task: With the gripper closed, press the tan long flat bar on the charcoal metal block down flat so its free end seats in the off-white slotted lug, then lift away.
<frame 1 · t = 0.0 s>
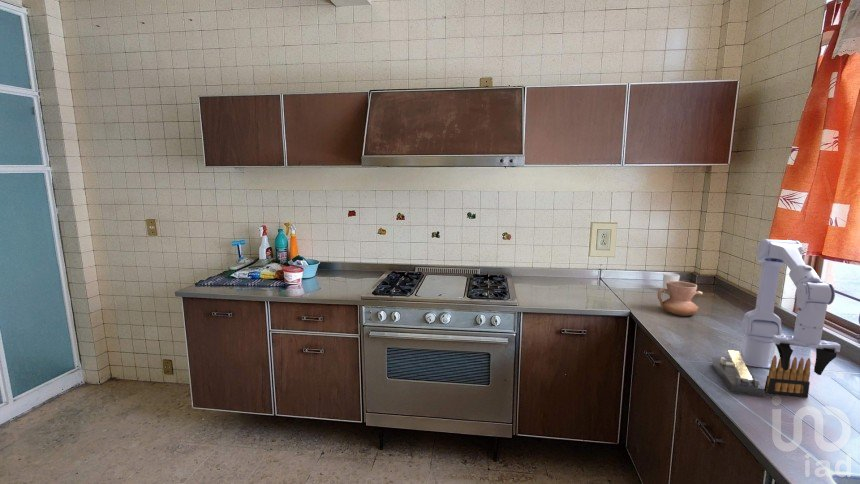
hand: (800, 371, 119), 10 cm above the counter, tool pointing down, fingers open, 7 cm apart
ammunition clip: (785, 395, 126), on the counter
white cup: (669, 292, 232), on the counter
ceramic jug: (677, 313, 198), on the counter
tan long flat bar: (739, 366, 132), point 5 cm above the counter, hinge at 15.0°
block: (735, 379, 135), on the counter
lug: (729, 372, 140), resting on block
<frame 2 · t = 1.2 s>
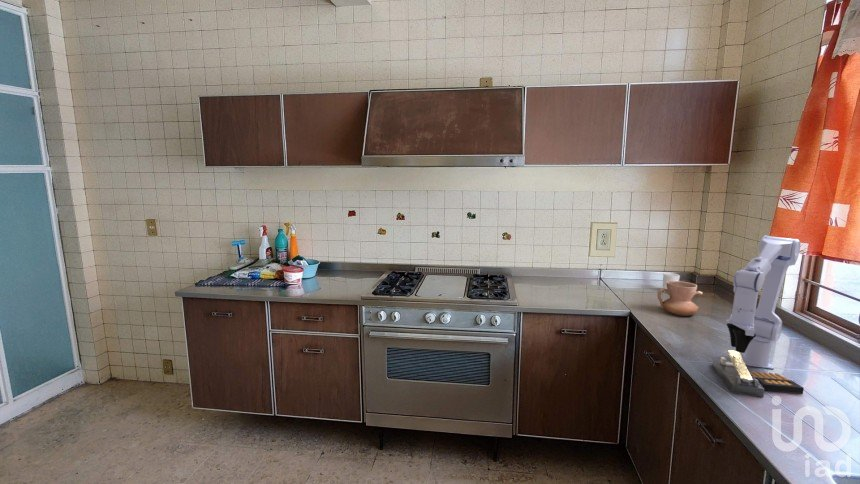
hand: (737, 349, 135), 9 cm above the counter, tool pointing down, fingers open, 4 cm apart
ammunition clip: (783, 389, 127), point 1 cm above the counter
everything else where it was.
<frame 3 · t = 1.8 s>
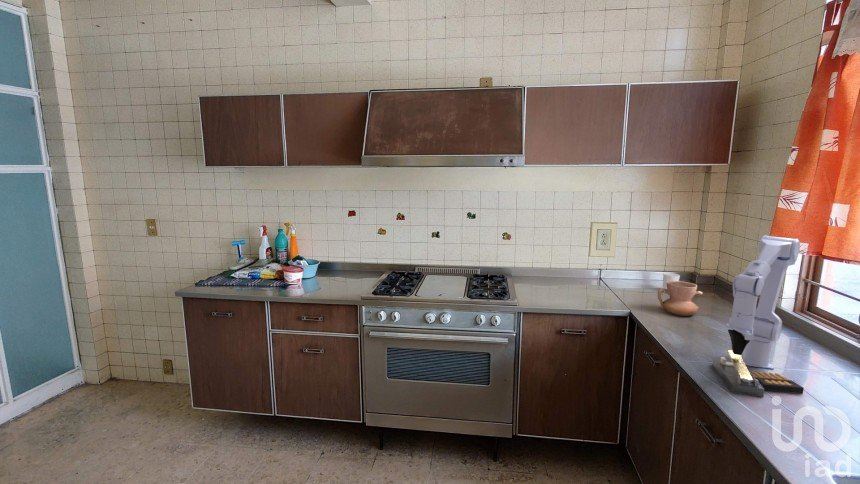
hand: (737, 353, 135), 8 cm above the counter, tool pointing down, fingers closed
nothing on the counter moved.
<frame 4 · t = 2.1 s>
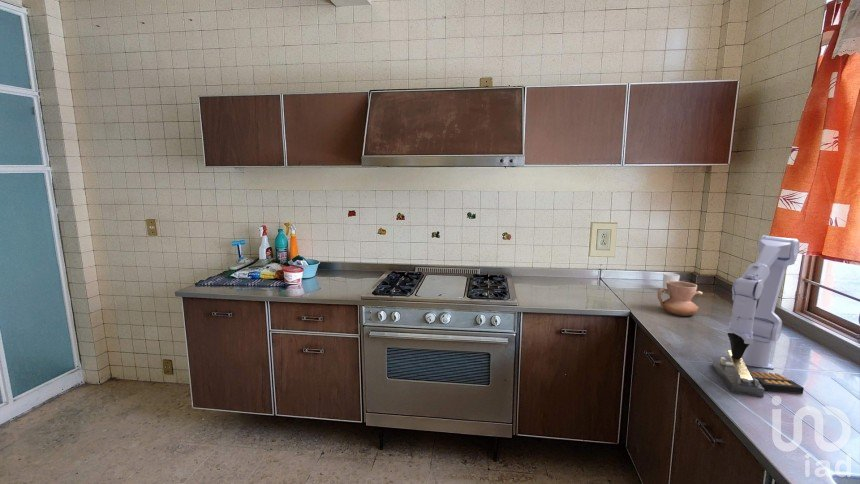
hand: (736, 357, 135), 7 cm above the counter, tool pointing down, fingers closed
tan long flat bar: (739, 366, 132), point 5 cm above the counter, hinge at 15.0°, touching gripper
everything else where it was.
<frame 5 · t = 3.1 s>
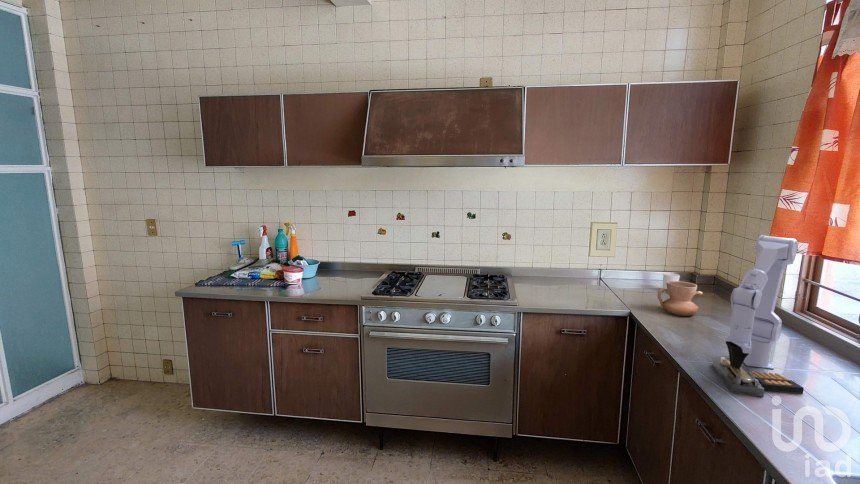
hand: (735, 365, 136), 4 cm above the counter, tool pointing down, fingers closed on tan long flat bar
tan long flat bar: (738, 371, 133), point 3 cm above the counter, hinge at -0.9°, touching gripper, lug
everything else where it was.
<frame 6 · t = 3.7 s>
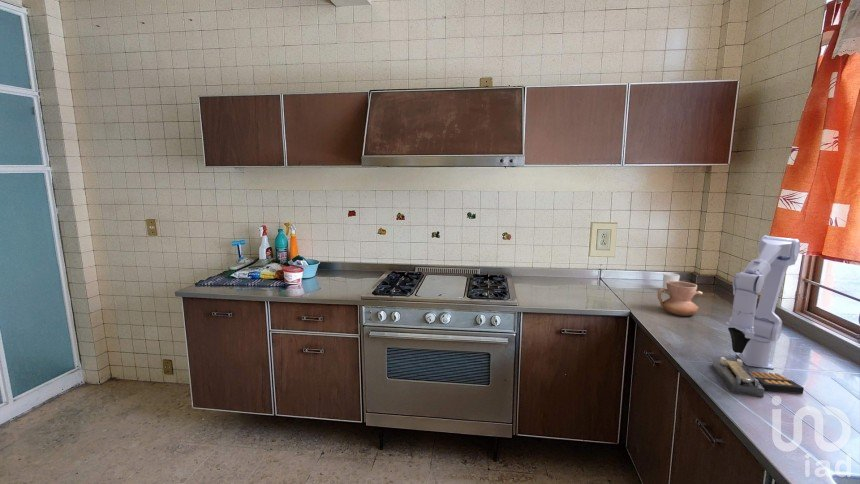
hand: (737, 351, 135), 9 cm above the counter, tool pointing down, fingers closed
tan long flat bar: (738, 371, 133), point 3 cm above the counter, hinge at -0.9°, touching lug
everything else where it was.
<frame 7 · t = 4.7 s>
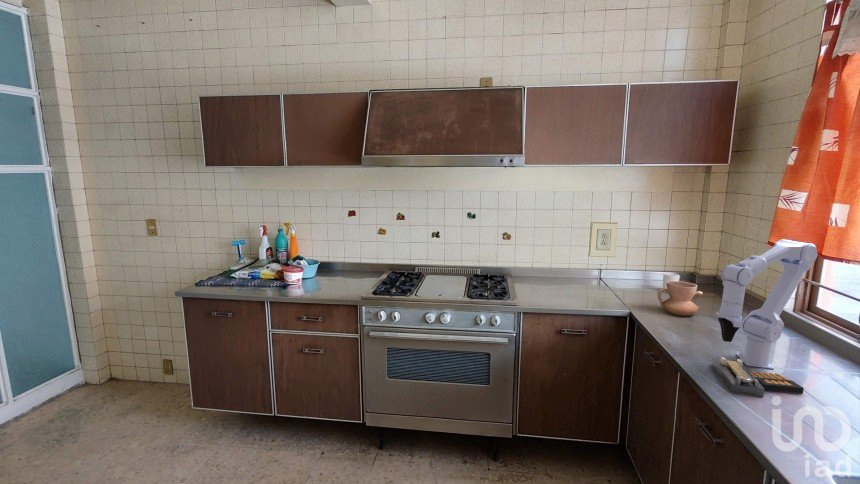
hand: (726, 340, 142), 9 cm above the counter, tool pointing down, fingers closed
nothing on the counter moved.
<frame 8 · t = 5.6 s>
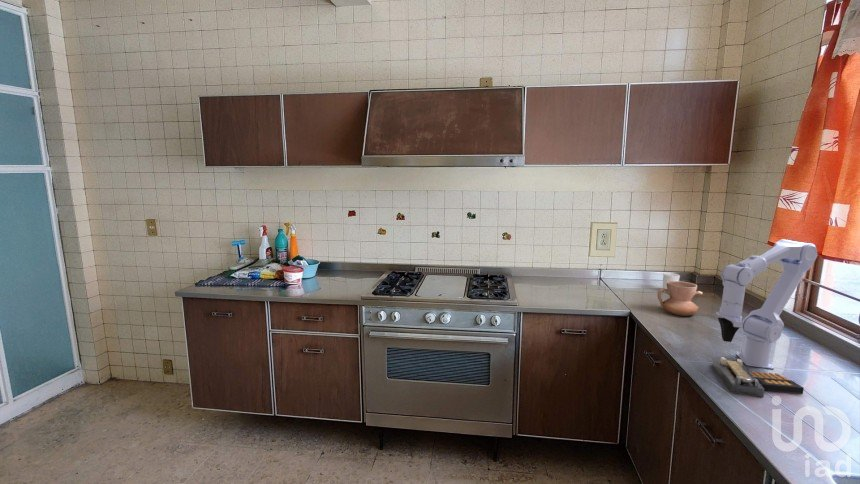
hand: (726, 340, 142), 9 cm above the counter, tool pointing down, fingers closed
nothing on the counter moved.
at the end: tan long flat bar at -1° (first picture: +15°) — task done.
